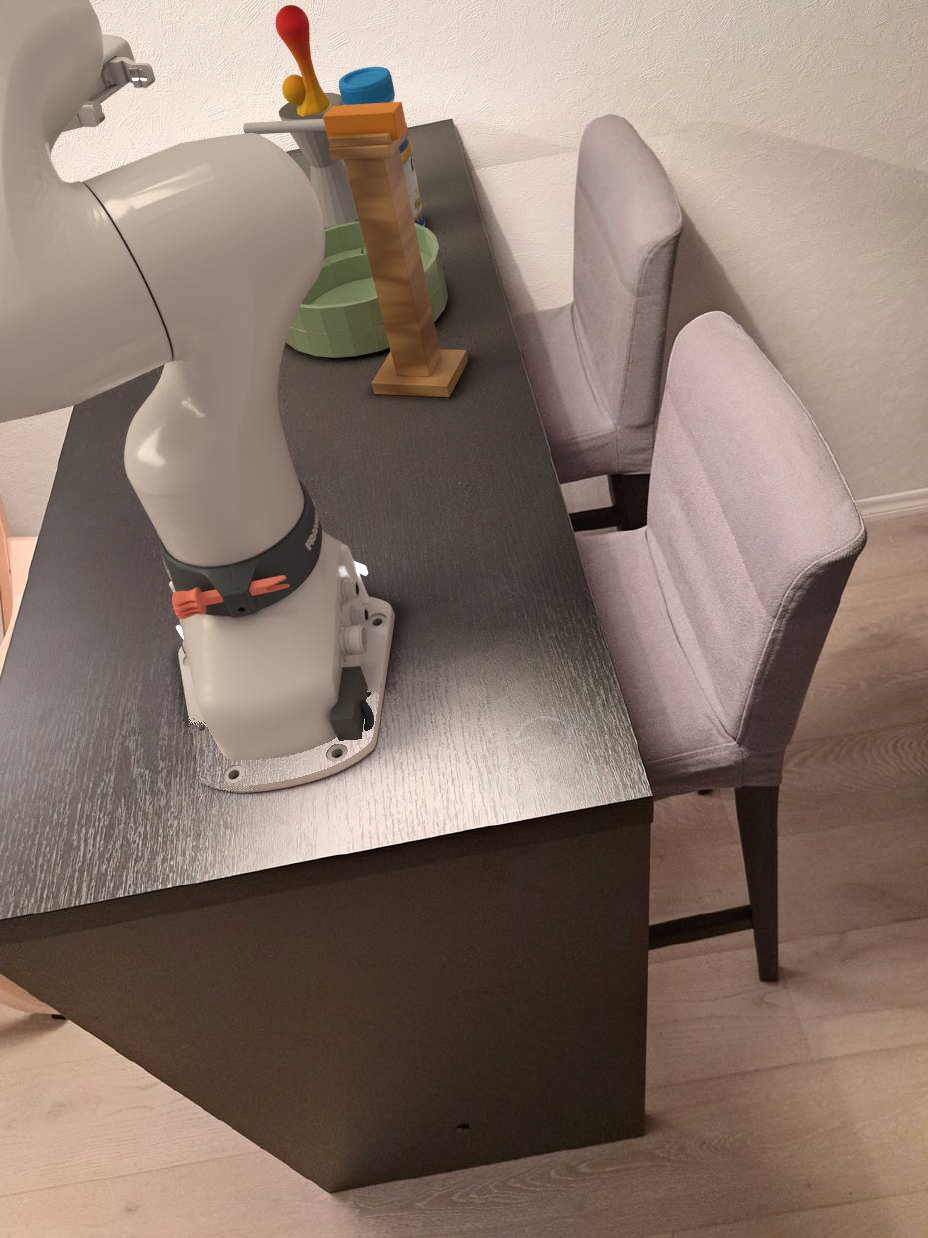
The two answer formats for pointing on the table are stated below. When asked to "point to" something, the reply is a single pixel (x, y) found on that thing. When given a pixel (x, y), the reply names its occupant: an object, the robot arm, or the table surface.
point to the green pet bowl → (355, 297)
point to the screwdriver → (343, 121)
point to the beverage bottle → (379, 89)
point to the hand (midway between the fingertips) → (125, 94)
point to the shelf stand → (396, 268)
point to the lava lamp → (309, 105)
